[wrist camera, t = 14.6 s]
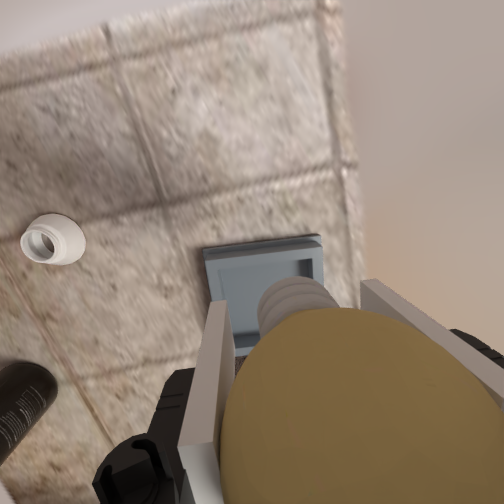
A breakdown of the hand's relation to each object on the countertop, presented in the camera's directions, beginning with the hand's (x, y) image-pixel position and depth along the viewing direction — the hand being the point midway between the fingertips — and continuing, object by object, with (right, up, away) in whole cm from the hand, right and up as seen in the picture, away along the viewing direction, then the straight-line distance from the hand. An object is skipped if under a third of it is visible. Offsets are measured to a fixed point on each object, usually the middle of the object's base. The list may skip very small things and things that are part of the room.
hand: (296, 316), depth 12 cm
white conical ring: (-21, +5, +13) cm, 25 cm away
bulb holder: (-1, -1, +15) cm, 15 cm away
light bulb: (0, 0, +1) cm, 1 cm away
